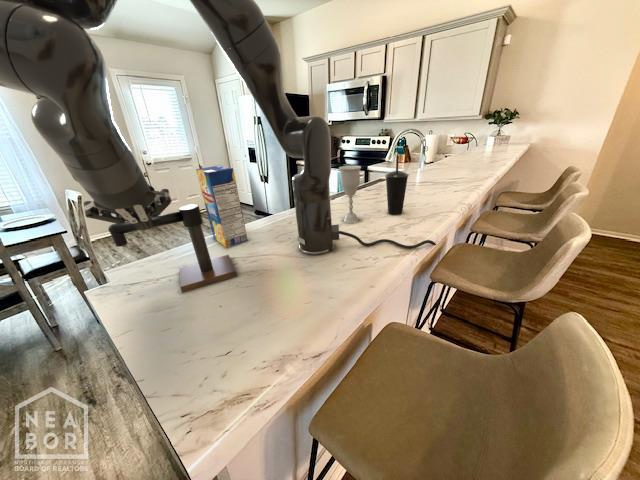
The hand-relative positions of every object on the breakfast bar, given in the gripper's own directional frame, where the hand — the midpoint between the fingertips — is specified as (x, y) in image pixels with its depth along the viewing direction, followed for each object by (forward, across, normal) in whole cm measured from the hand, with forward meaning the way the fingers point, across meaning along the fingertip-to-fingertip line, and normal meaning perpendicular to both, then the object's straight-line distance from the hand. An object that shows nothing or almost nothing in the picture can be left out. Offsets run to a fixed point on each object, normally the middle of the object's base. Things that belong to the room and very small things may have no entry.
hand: (145, 225), depth 52 cm
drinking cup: (+17, -73, +6) cm, 75 cm away
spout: (+5, -2, +1) cm, 5 cm away
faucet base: (+13, -8, +9) cm, 18 cm away
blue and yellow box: (+27, -17, -4) cm, 32 cm away
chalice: (+20, -56, +3) cm, 60 cm away
